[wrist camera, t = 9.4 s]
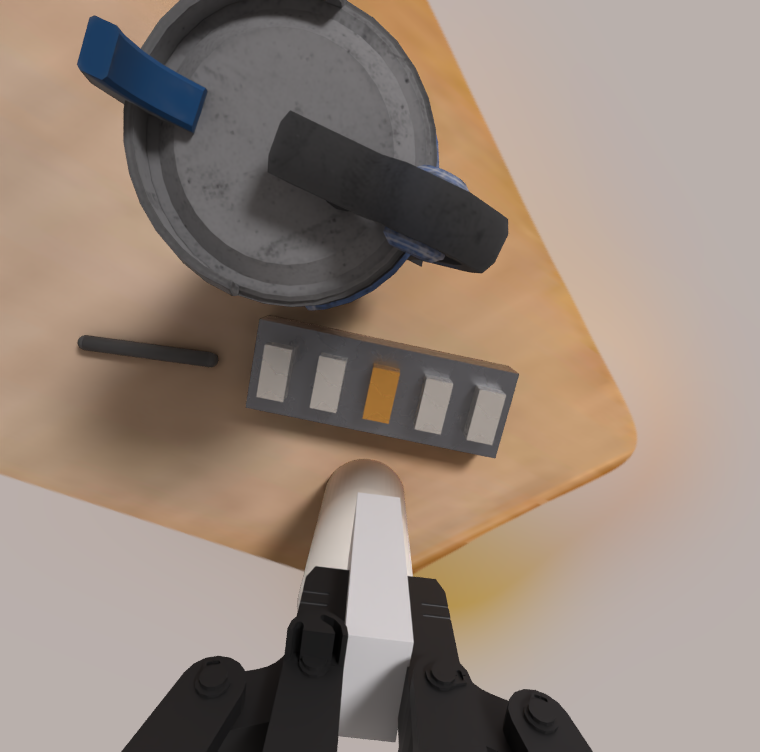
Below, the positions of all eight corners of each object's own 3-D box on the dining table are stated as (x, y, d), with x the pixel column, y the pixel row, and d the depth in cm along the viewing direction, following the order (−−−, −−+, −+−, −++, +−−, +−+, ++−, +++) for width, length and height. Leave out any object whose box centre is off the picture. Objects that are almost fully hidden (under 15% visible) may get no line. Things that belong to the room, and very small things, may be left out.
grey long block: (257, 395, 40) (239, 413, 35) (270, 314, 39) (254, 321, 34) (485, 442, 41) (499, 465, 36) (507, 365, 40) (524, 378, 35)
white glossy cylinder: (320, 526, 42) (291, 649, 29) (329, 454, 41) (303, 547, 27) (398, 536, 43) (405, 663, 29) (410, 464, 41) (424, 562, 28)
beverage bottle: (402, 319, 38) (438, 409, 14) (248, 251, 37) (-5, 218, 13) (457, 197, 36) (612, 53, 12) (296, 121, 35) (102, -212, 11)
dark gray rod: (83, 347, 39) (74, 350, 38) (83, 333, 39) (74, 335, 38) (219, 366, 39) (214, 369, 38) (220, 352, 39) (215, 354, 38)
